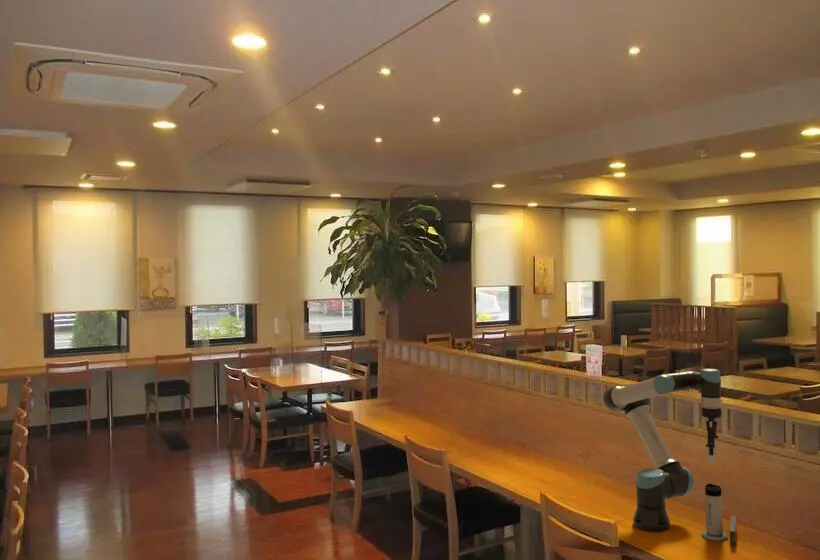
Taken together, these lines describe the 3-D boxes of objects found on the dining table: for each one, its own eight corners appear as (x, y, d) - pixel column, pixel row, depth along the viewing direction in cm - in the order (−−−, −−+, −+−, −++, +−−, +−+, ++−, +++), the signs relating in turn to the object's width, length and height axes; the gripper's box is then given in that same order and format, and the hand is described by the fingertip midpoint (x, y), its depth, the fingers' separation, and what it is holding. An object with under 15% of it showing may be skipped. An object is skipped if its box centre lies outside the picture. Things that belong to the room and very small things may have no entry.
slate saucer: (700, 538, 282) (700, 537, 282) (702, 530, 291) (702, 528, 291) (727, 542, 278) (727, 540, 278) (728, 533, 287) (728, 531, 287)
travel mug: (718, 530, 288) (716, 483, 288) (725, 536, 282) (724, 488, 281) (703, 531, 288) (701, 483, 288) (710, 537, 282) (709, 488, 281)
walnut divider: (730, 545, 275) (729, 530, 275) (731, 529, 291) (730, 515, 291) (735, 546, 274) (735, 531, 274) (736, 530, 290) (736, 516, 290)
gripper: (720, 413, 271) (721, 467, 272) (722, 401, 294) (723, 451, 294) (699, 412, 275) (700, 465, 275) (703, 400, 297) (704, 450, 297)
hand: (712, 458), depth 284 cm, fingers open, 13 cm apart
